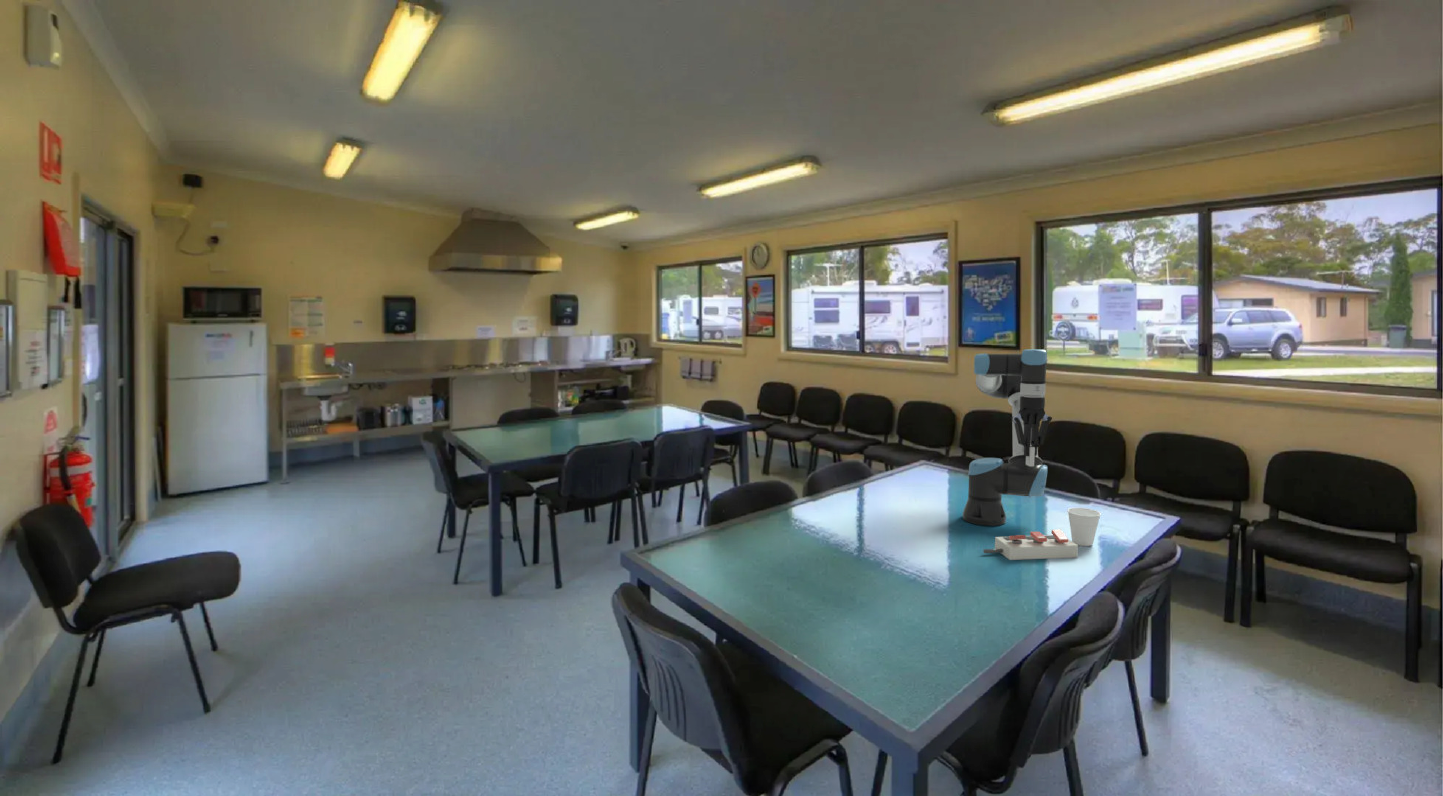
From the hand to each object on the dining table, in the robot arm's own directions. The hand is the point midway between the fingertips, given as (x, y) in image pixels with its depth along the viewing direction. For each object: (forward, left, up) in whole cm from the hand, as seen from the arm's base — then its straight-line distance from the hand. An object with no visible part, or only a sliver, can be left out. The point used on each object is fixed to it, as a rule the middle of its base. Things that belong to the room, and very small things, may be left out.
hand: (1029, 465), depth 217 cm
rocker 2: (+13, -3, -20) cm, 24 cm away
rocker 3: (+13, +4, -20) cm, 24 cm away
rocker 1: (+13, -10, -20) cm, 26 cm away
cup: (+4, +17, -27) cm, 32 cm away
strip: (+11, -6, -26) cm, 29 cm away
